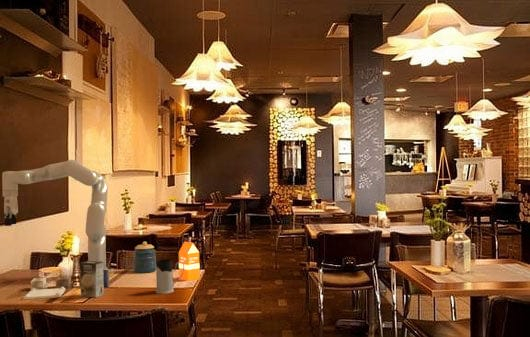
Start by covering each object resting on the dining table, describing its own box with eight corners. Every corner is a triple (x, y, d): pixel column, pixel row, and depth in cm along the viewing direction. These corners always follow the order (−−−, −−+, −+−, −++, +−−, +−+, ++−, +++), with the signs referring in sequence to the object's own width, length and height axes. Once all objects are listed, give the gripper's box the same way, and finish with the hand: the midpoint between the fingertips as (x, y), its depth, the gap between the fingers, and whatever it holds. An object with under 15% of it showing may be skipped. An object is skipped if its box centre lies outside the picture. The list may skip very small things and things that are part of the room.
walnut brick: (71, 285, 278) (70, 276, 278) (68, 289, 270) (68, 279, 270) (58, 286, 277) (58, 276, 277) (56, 289, 269) (55, 279, 269)
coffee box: (79, 296, 252) (79, 262, 252) (88, 293, 258) (87, 260, 258) (96, 297, 249) (95, 263, 249) (104, 294, 255) (103, 261, 255)
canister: (138, 269, 321) (138, 240, 321) (159, 269, 319) (158, 239, 319) (130, 273, 308) (129, 242, 308) (151, 273, 306) (151, 242, 306)
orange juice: (187, 281, 282) (187, 243, 282) (178, 278, 289) (178, 242, 289) (200, 279, 287) (199, 242, 287) (191, 276, 294) (190, 240, 294)
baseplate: (65, 290, 267) (65, 286, 267) (59, 297, 251) (59, 293, 251) (31, 292, 264) (31, 288, 264) (23, 299, 248) (23, 295, 248)
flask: (110, 286, 274) (110, 265, 274) (106, 287, 271) (106, 266, 271) (96, 285, 277) (95, 264, 277) (92, 286, 275) (91, 265, 275)
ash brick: (46, 287, 276) (46, 277, 276) (43, 290, 268) (43, 280, 268) (34, 288, 275) (34, 278, 275) (30, 291, 267) (30, 281, 267)
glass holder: (154, 290, 261) (153, 260, 261) (182, 287, 267) (181, 257, 267) (157, 294, 253) (157, 262, 253) (187, 291, 259) (186, 260, 259)
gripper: (13, 194, 284) (14, 226, 283) (21, 192, 301) (22, 223, 300) (-2, 194, 282) (-2, 226, 282) (7, 193, 299) (7, 223, 299)
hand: (10, 224), depth 291 cm, fingers open, 9 cm apart
